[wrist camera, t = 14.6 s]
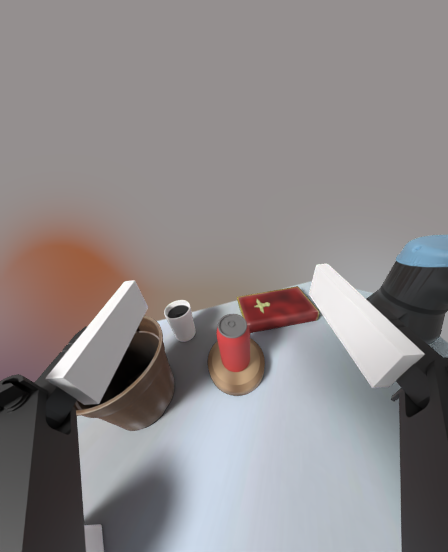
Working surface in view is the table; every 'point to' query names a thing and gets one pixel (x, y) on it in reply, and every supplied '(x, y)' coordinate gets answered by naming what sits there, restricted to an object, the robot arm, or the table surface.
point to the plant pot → (137, 383)
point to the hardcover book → (277, 309)
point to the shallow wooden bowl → (240, 380)
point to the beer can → (234, 342)
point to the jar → (94, 538)
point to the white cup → (180, 320)
